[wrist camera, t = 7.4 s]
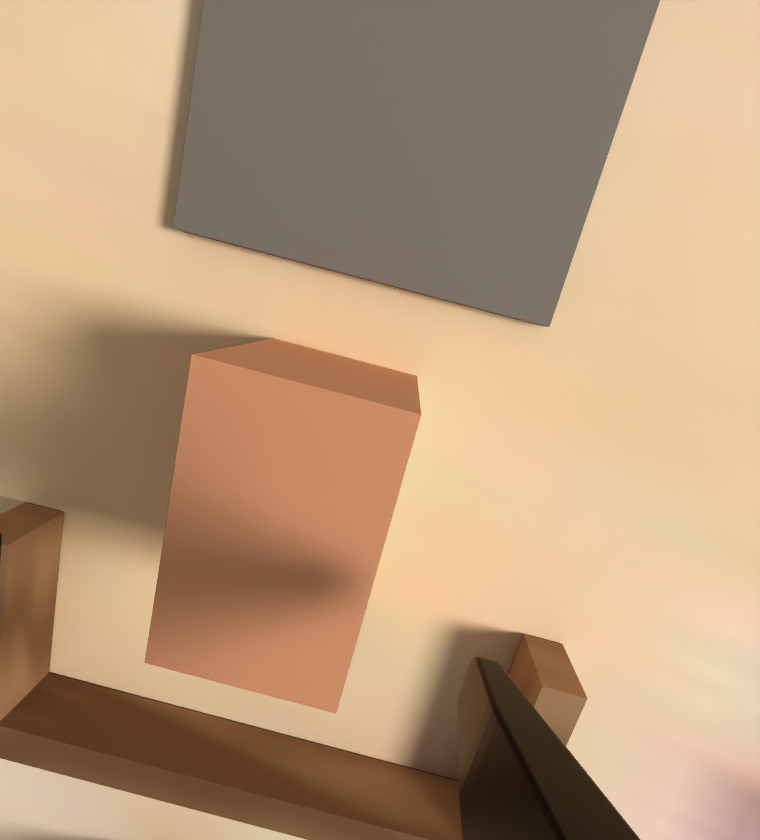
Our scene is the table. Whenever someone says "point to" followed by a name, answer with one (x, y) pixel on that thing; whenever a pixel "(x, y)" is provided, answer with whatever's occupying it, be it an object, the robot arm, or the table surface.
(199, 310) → the table surface
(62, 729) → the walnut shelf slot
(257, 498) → the terracotta blank
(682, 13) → the table surface
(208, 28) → the charcoal mat
